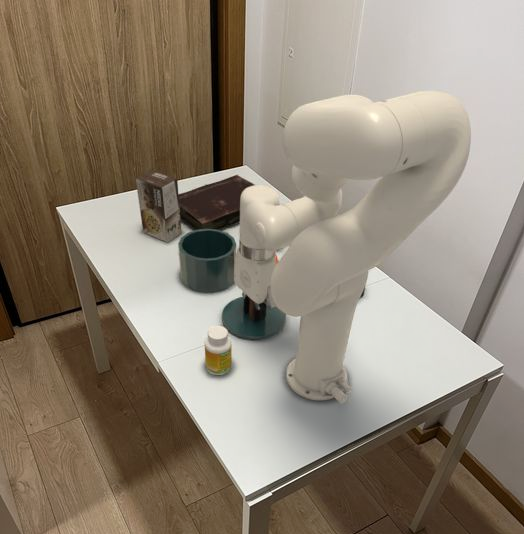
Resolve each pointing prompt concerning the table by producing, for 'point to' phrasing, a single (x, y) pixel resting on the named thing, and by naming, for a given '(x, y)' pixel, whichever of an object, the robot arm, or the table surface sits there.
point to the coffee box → (159, 205)
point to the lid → (251, 320)
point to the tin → (207, 260)
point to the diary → (213, 204)
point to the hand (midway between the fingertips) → (254, 314)
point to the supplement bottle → (218, 351)
